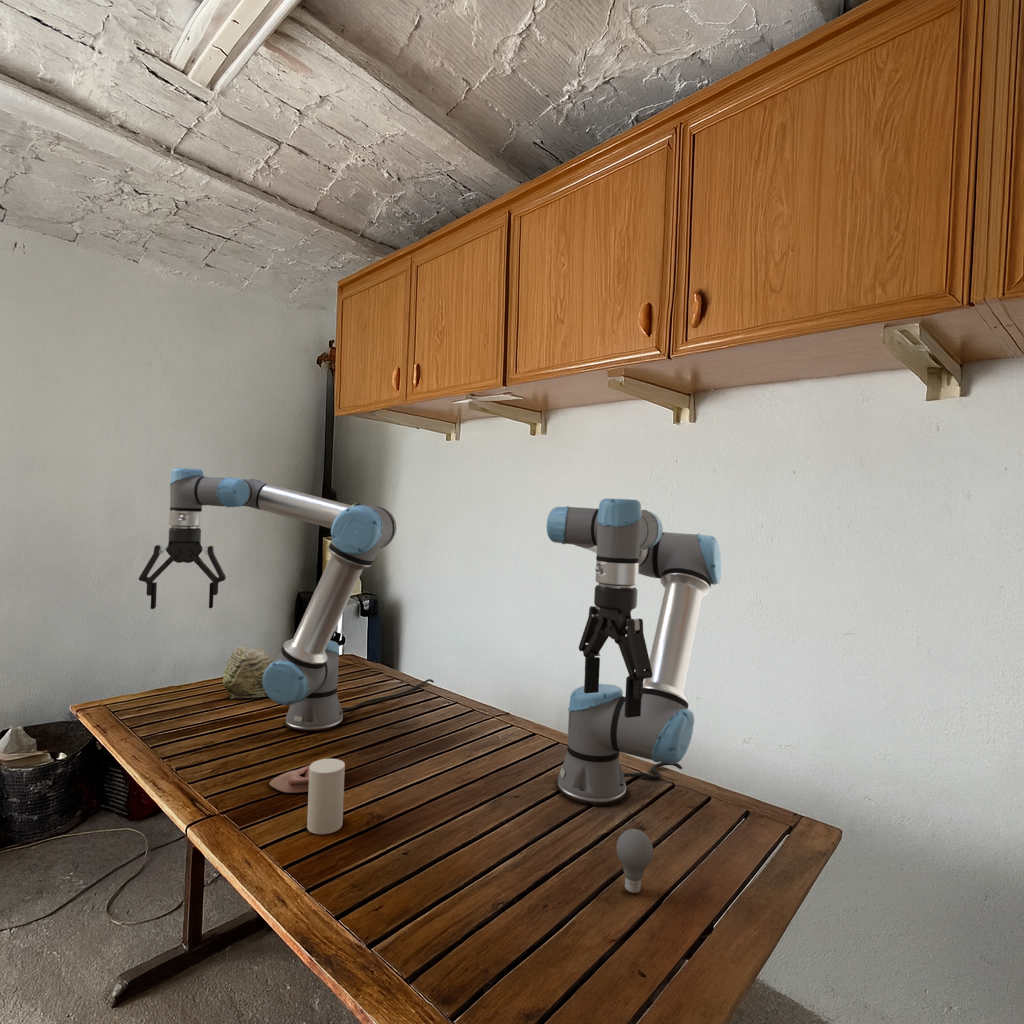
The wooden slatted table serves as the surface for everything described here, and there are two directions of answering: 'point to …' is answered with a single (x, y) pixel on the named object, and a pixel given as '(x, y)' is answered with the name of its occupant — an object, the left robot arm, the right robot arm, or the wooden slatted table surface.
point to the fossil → (246, 673)
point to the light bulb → (634, 857)
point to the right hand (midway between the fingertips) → (610, 703)
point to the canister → (325, 796)
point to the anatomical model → (292, 781)
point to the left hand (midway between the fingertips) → (182, 607)
